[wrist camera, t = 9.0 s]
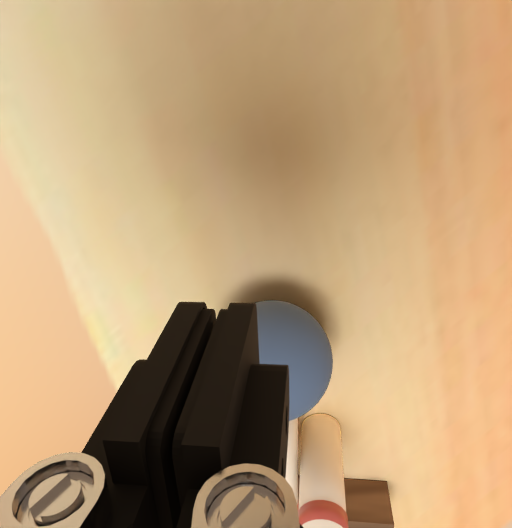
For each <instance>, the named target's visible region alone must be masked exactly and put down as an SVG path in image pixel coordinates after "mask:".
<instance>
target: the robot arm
mask: <svg viewBox="0 0 512 528" xmlns="http://www.w3.org/2000/svg"><path fill="white" fill-rule="evenodd" d="M288 433H289V366H288V365H277V364H260V361H259V341H258V321H257V307H256V304H255V303H230V305H229V307H228V309H221V310H220V311H219V314H218V317H217V319H216V315H215V310H214V309H207V306H206V304H205V302H179V303H178V304H177V306H176V308H175V310H174V312H173V313H172V315H171V317H170V319H169V321H168V322H167V324H166V326H165V328H164V330H163V331H162V333H161V335H160V337H159V339H158V340H157V342H156V344H155V346H154V348H153V349H152V351H151V353H150V355H149V357H148V358H147V360H138V361H136V362H135V364H134V365H133V366H132V368H131V370H130V371H129V373H128V375H127V376H126V378H125V380H124V381H123V383H122V385H121V386H120V388H119V390H118V392H117V393H116V395H115V397H114V398H113V400H112V402H111V403H110V405H109V407H108V409H107V410H106V412H105V414H104V415H103V417H102V419H101V421H100V422H99V424H98V426H97V427H96V429H95V431H94V432H93V434H92V436H91V438H90V439H89V441H88V442H87V444H86V446H85V448H84V449H83V451H82V453H72V452H71V453H70V452H69V453H64V454H59V455H55V456H52V457H49V458H47V459H45V460H42V461H40V462H38V463H37V464H35V465H34V466H32V467H30V468H29V469H27V470H26V471H25V472H24V473H22V474H21V475H20V476H19V477H18V478H17V479H16V480H15V481H14V482H13V483H12V484H11V485H10V486H9V487H8V489H7V490H6V491H5V492H4V493H3V494H2V495H1V497H0V528H304V527H303V526H302V525H301V524H300V523H299V516H298V509H297V502H296V499H295V495H294V492H293V489H292V487H291V486H290V485H289V483H288V482H287V481H286V479H285V477H286V463H287V448H288Z"/></svg>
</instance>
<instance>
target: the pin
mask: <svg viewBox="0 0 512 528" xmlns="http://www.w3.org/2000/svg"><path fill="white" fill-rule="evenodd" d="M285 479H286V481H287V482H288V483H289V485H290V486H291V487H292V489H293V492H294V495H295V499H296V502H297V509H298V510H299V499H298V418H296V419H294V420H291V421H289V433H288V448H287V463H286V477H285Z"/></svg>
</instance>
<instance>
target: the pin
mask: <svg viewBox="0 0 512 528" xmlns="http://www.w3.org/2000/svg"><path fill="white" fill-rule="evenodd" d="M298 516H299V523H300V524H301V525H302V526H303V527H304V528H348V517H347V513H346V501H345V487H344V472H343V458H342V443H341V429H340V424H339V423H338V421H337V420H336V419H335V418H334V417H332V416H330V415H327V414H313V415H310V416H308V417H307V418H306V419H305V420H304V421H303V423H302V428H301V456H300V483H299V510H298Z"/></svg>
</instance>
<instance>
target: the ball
mask: <svg viewBox="0 0 512 528" xmlns="http://www.w3.org/2000/svg"><path fill="white" fill-rule="evenodd" d="M255 304H256V307H257V321H258V341H259V361H260V364H277V365H288V366H289V421H291V420H294V419H296V418H298V417H300V416H302V415H304V414H305V413H307V412H308V411H310V410H311V409H312V408H313V407H314V406H315V405H316V404H317V403H318V402H319V400H320V399H321V398H322V396H323V395H324V393H325V391H326V389H327V387H328V384H329V382H330V378H331V374H332V364H333V360H332V351H331V346H330V343H329V340H328V338H327V335H326V333H325V332H324V330H323V328H322V327H321V325H320V324H319V323H318V321H317V320H316V319H315V318H314V317H313V316H312V315H310V314H309V313H308V312H307V311H305V310H304V309H302V308H300V307H298V306H296V305H294V304H291V303H288V302H284V301H277V300H267V301H260V302H256V303H255Z"/></svg>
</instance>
